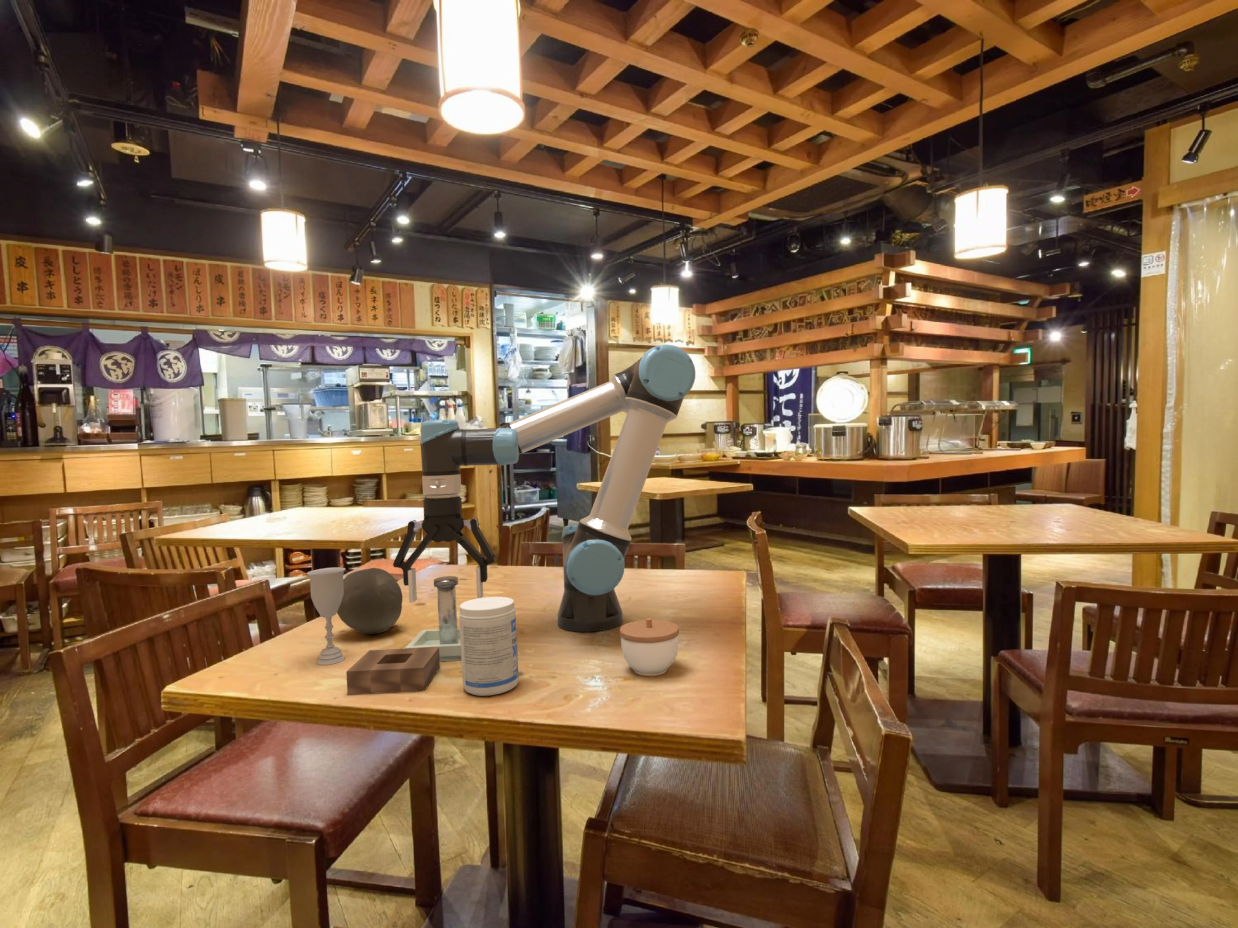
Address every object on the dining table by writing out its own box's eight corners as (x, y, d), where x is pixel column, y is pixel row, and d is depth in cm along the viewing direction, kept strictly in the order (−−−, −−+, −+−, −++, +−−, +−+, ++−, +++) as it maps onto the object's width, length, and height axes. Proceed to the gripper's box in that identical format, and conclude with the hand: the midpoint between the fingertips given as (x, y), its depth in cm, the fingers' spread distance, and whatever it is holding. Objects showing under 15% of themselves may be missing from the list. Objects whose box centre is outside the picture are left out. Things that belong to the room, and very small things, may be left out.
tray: (488, 640, 133) (487, 626, 133) (477, 659, 121) (477, 644, 121) (422, 643, 132) (421, 629, 132) (405, 663, 120) (404, 647, 120)
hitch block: (440, 667, 117) (439, 646, 117) (424, 690, 106) (423, 667, 106) (370, 671, 116) (369, 650, 116) (347, 694, 105) (346, 671, 105)
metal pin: (463, 641, 129) (460, 575, 128) (458, 649, 124) (455, 580, 124) (440, 643, 129) (436, 576, 128) (434, 650, 124) (431, 581, 123)
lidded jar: (611, 665, 115) (610, 616, 115) (662, 656, 119) (660, 608, 119) (636, 685, 105) (635, 630, 105) (691, 673, 109) (689, 621, 109)
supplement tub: (528, 688, 105) (524, 602, 105) (475, 702, 100) (471, 613, 100) (504, 672, 113) (501, 593, 113) (454, 685, 108) (450, 601, 108)
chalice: (333, 667, 119) (329, 574, 119) (302, 666, 120) (298, 574, 120) (357, 654, 126) (353, 567, 126) (327, 653, 128) (323, 567, 127)
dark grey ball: (372, 622, 150) (369, 561, 149) (417, 628, 144) (414, 564, 143) (322, 640, 137) (319, 573, 137) (369, 647, 131) (366, 577, 131)
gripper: (373, 499, 121) (378, 606, 122) (501, 495, 122) (505, 601, 123) (386, 496, 129) (390, 597, 129) (506, 492, 130) (510, 592, 130)
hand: (446, 599), depth 126 cm, fingers open, 13 cm apart
